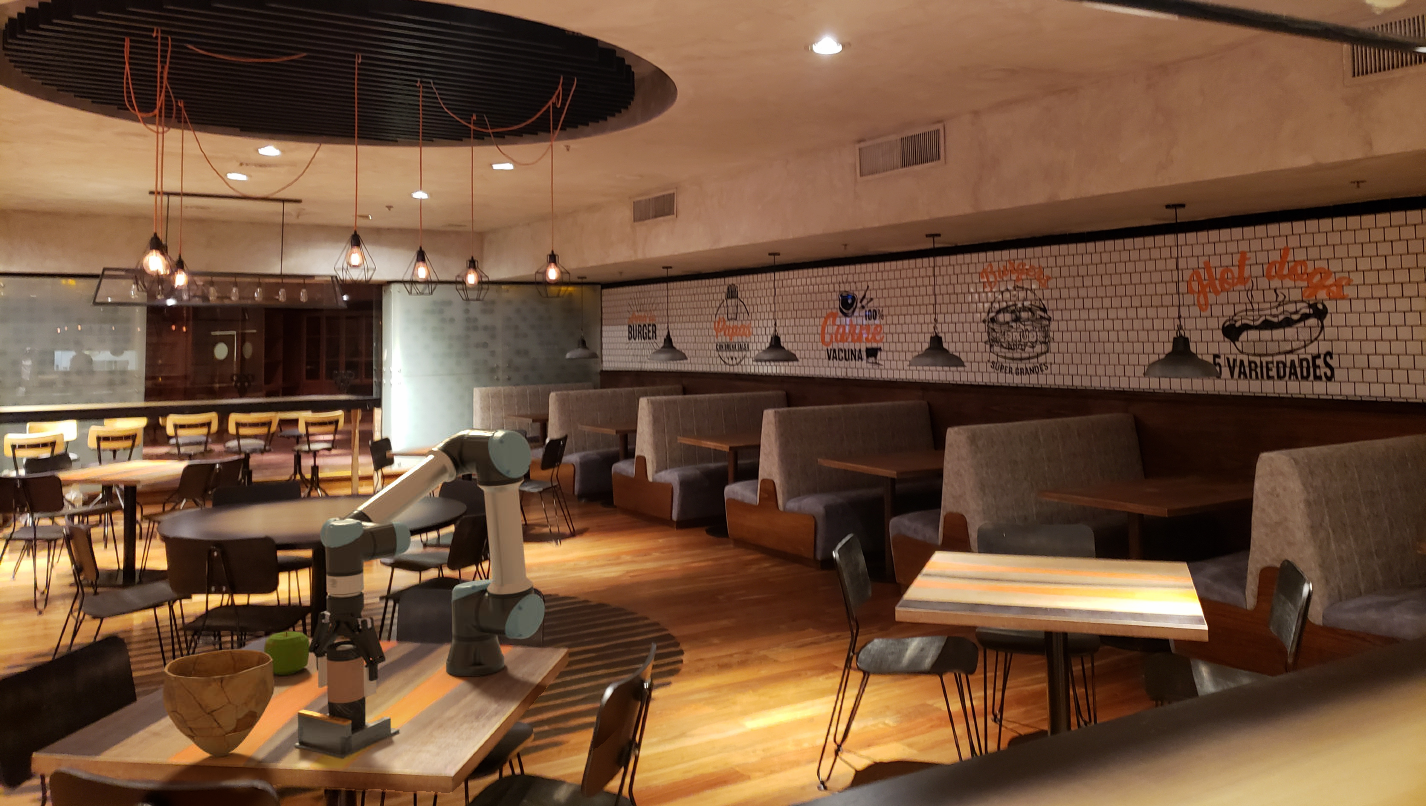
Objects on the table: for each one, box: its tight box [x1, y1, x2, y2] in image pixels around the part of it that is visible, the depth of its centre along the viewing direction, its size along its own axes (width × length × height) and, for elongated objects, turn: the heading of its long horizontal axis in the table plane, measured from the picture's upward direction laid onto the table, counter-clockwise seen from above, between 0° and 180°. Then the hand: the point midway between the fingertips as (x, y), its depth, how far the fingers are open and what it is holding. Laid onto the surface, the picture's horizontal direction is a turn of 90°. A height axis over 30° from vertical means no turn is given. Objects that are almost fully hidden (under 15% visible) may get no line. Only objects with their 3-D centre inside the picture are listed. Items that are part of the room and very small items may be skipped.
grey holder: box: [294, 709, 400, 760], centre depth 211 cm, size 16×14×7 cm
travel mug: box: [325, 639, 367, 731], centre depth 210 cm, size 8×8×20 cm
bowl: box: [162, 648, 275, 758], centre depth 202 cm, size 21×20×20 cm
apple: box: [263, 630, 311, 676], centre depth 258 cm, size 11×11×11 cm
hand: (347, 690), depth 210 cm, fingers open, 13 cm apart
